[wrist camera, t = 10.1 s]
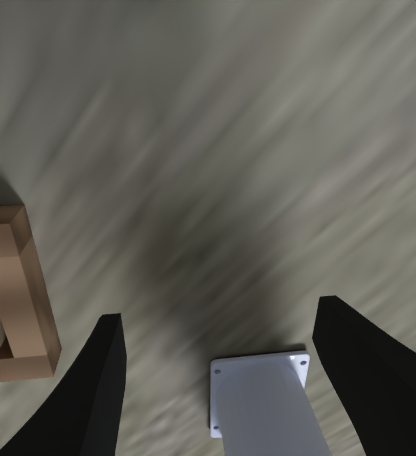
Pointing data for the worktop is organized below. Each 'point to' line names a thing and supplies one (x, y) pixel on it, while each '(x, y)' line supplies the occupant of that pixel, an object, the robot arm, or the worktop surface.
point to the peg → (2, 333)
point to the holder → (24, 303)
